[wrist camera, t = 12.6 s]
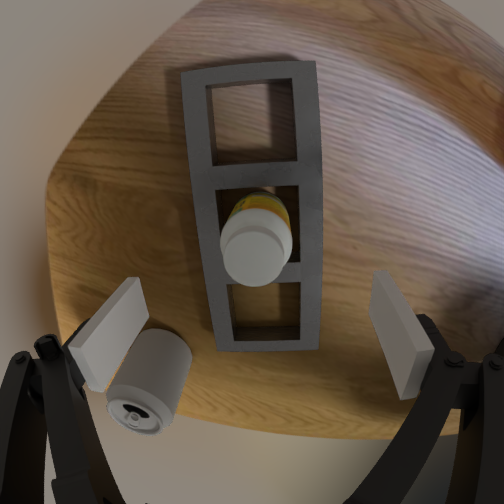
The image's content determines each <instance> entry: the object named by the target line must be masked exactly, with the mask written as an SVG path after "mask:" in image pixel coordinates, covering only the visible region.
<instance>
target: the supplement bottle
mask: <svg viewBox="0 0 504 504" xmlns="http://www.w3.org/2000/svg"><path fill="white" fill-rule="evenodd" d="M220 247H221V252H222V255H223V262H224V266H225V269H226V271H227V273H228V274H229V275H230V276H231V277H232V278H233V279H234V280H235V281H237V282H238V283H240V284H242V285H245V286H251V287H258V286H263V285H266V284H268V283H270V282H272V281H273V280H275V279H276V278H277V277H278V275H279V274H280V273H281V271H282V268H283V266H284V265H285V264H286V263H287V261H288V259H289V257H290V255H291V251H292V235H291V229H290V222H289V216H288V212H287V209H286V207H285V205H284V204H283V203H282V201H281V200H280V199H279V198H277V197H276V196H274V195H272V194H270V193H267V192H254V193H250V194H248V195H246V196H244V197H242V198H241V199H240V200H239V201H238V202H237V203H236V205H235V207H234V208H233V210H232V212H231V214H230V216H229V218H228V220H227V222H226V224H225V226H224V228H223V230H222V233H221V238H220Z"/></svg>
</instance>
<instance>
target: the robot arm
mask: <svg viewBox="0 0 504 504" xmlns="http://www.w3.org/2000/svg"><path fill="white" fill-rule="evenodd" d="M369 316H370V318H371V321H372V324H373V326H374V329H375V331H376V334H377V336H378V339H379V342H380V344H381V347H382V350H383V352H384V355H385V358H386V360H387V363H388V366H389V369H390V371H391V374H392V377H393V380H394V383H395V386H396V389H397V392H398V395H399V398H400V400H405V399H411V398H416V397H417V395H418V393H419V390H420V389H421V393H420V395H419V397H418V399H417V400H416V402H415V404H414V406H413V408H412V409H411V411H410V413H409V414H408V416H407V418H406V419H405V421H404V423H403V424H402V426H401V428H400V429H399V431H398V432H397V434H396V435H395V437H394V439H393V440H392V442H391V443H390V445H389V446H388V448H387V449H386V451H385V452H384V453H383V455H382V456H381V458H380V459H379V460H378V462H377V463H376V465H375V466H374V467H373V469H372V470H371V471H370V473H369V474H368V475H367V477H366V478H365V479H364V480H363V482H362V483H361V484H360V485H359V487H358V488H357V489H356V490H355V492H354V493H353V494H352V495H351V496H350V497H349V498H348V499H347V500H346V501H345V502H344V503H343V504H400V503H401V502H402V500H403V499H404V497H405V495H406V494H407V492H408V491H409V489H410V488H411V486H412V484H413V483H414V481H415V480H416V478H417V476H418V474H419V473H420V471H421V469H422V467H423V466H424V464H425V462H426V460H427V458H428V456H429V454H430V453H431V450H432V449H433V447H434V445H435V443H436V441H437V439H438V437H439V435H440V433H441V430H442V428H443V426H444V424H445V422H446V419H447V417H448V415H449V412H450V410H451V408H452V409H461V415H460V425H459V433H458V441H457V448H456V454H455V460H454V466H453V471H452V476H451V481H450V485H449V490H448V494H447V498H446V502H445V504H504V339H503V340H502V342H501V343H500V345H499V347H498V348H497V350H496V352H495V354H488V355H486V356H485V357H484V359H483V361H482V363H474V362H467V361H466V359H465V357H464V356H463V355H461V354H460V353H458V352H454V351H451V350H450V348H449V346H448V345H447V343H446V341H445V340H444V338H443V337H442V335H441V333H440V332H439V330H438V329H437V328H436V325H435V324H434V322H433V321H432V319H430V318H429V317H428V316H426V315H425V314H419V315H415V314H414V312H413V310H412V309H411V307H410V306H409V304H408V302H407V301H406V299H405V297H404V296H403V294H402V293H401V291H400V290H399V288H398V286H397V285H396V283H395V282H394V280H393V279H392V277H391V276H390V274H389V273H388V271H387V270H381V271H374V275H373V284H372V292H371V300H370V307H369ZM148 318H149V313H148V310H147V306H146V302H145V299H144V295H143V291H142V287H141V283H140V279H139V277H127V279H126V280H125V281H124V282H123V283H122V284H121V285H120V286H119V287H118V288H117V289H116V291H115V292H114V293H113V294H112V295H111V296H110V297H109V298H108V299H107V301H106V302H105V303H104V304H103V305H102V306H101V307H100V308H99V310H98V311H97V312H96V313H95V314H94V315H93V316H92V318H89V319H87V320H86V321H84V322H83V323H82V324H81V325H80V326H79V327H78V328H77V330H76V331H75V332H74V333H73V335H71V336H70V338H69V339H68V340H67V341H66V342H65V343H64V345H63V346H62V347H61V345H60V343H59V341H58V339H57V336H56V335H54V334H48V335H44V336H42V337H40V338H39V339H37V341H36V342H35V343H34V348H35V349H36V352H37V354H38V356H39V357H40V359H32V357H31V355H30V353H29V352H27V351H21V352H18V353H16V354H15V355H14V356H13V357H12V358H11V360H10V362H9V365H8V368H7V370H6V373H5V376H4V379H3V382H2V385H1V388H0V504H44V470H45V454H46V441H47V431H48V437H49V443H50V449H51V454H52V458H53V463H54V468H55V472H56V479H53V480H52V482H51V485H52V490H53V494H54V498H55V501H56V504H126V503H125V501H124V499H123V498H122V495H121V493H120V491H119V489H118V486H117V484H116V482H115V480H114V477H113V475H112V472H111V470H110V467H109V465H108V462H107V460H106V457H105V454H104V452H103V449H102V446H101V444H100V440H99V437H98V435H97V431H96V428H95V426H94V422H93V419H92V415H91V412H90V409H89V405H88V402H87V398H86V394H85V391H84V389H83V387H82V386H83V384H84V383H85V381H86V383H87V385H88V387H89V389H90V390H93V391H97V392H101V393H103V391H104V390H105V388H106V386H107V385H108V383H109V381H110V380H111V378H112V376H113V375H114V373H115V371H116V370H117V368H118V366H119V365H120V363H121V361H122V360H123V358H124V356H125V355H126V353H127V352H128V350H129V348H130V347H131V345H132V343H133V342H134V340H135V339H136V337H137V335H138V334H139V332H140V331H141V329H142V328H143V326H144V324H145V323H146V321H147V320H148ZM146 504H147V503H146Z"/></svg>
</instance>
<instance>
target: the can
mask: <svg viewBox="0 0 504 504" xmlns="http://www.w3.org/2000/svg"><path fill="white" fill-rule="evenodd" d="M191 363H192V354H191V350H190V348H189V347H188V346H187V344H186V343H185V342H184V341H183V340H182V339H181V338H180V337H178V336H177V335H175V334H174V333H172V332H170V331H166V330H162V329H148V330H144V331H143V332H141V333H140V334H139V335H138V337H137V338H136V340H135V342H134V344H133V345H132V347H131V349H130V350H129V352H128V354H127V356H126V357H125V359H124V361H123V363H122V364H121V366H120V368H119V370H118V372H117V373H116V375H115V377H114V379H113V380H112V382H111V384H110V386H109V388H108V390H107V393H106V396H107V401H108V403H107V406H106V407H107V411H108V413H109V414H110V416H111V417H112V418H113V419H114V420H115V421H116V422H117V423H118V424H120V425H121V426H122V427H124V428H126V429H128V430H130V431H132V432H135V433H137V434H141V435H147V436H153V435H157V434H160V433H161V432H162V431H163V428H165V427H167V426H169V425H170V424H171V423H172V421H173V418H174V415H175V412H176V409H177V406H178V402H179V399H180V396H181V393H182V390H183V387H184V384H185V381H186V378H187V375H188V372H189V369H190V366H191Z"/></svg>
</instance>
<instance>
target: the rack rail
mask: <svg viewBox="0 0 504 504" xmlns="http://www.w3.org/2000/svg"><path fill="white" fill-rule="evenodd" d="M180 74H181V88H182V100H183V111H184V122H185V133H186V142H187V152H188V161H189V170H190V178H191V186H192V194H193V202H194V210H195V217H196V225H197V232H198V239H199V245H200V252H201V259H202V265H203V272H204V278H205V284H206V290H207V296H208V302H209V308H210V313H211V319H212V325H213V330H214V335H215V341H216V346H217V351H230V352H260V351H298V350H318V348H319V333H320V316H321V295H322V263H323V180H322V149H321V128H320V111H319V97H318V84H317V72H316V62H315V61H275V62H259V63H246V64H236V65H227V66H219V67H211V68H205V69H198V70H192V71H186V72H181V73H180ZM284 82H291V93H292V107H293V121H294V137H295V154H296V158H290V159H268V160H251V161H237V162H225V163H218V159H217V148H216V137H215V126H214V115H213V103H212V91H211V89H213V88H221V87H230V86H239V85H251V84H265V83H284ZM290 185H297V199H298V233H299V251H296V252H291V255H290V257H289V259H288V261H287V263H286V264H285V265H284V266H283V268H282V271H281V273H280V274H279V275H278V277H277V278H276V279H275V280H273V281H272V282H270V283H284V282H299V326H279V327H237V326H236V318H235V311H234V303H233V295H232V286H231V284H240V283H238V282H237V281H235V280H234V279H233V278H232V277H231V276H230V275H229V274H228V273H227V271H226V269H225V266H224V262H223V255H222V252H221V247H220V238H221V233H222V230H223V228H224V217H223V208H222V198H221V189H234V188H250V187H268V186H290Z"/></svg>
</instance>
